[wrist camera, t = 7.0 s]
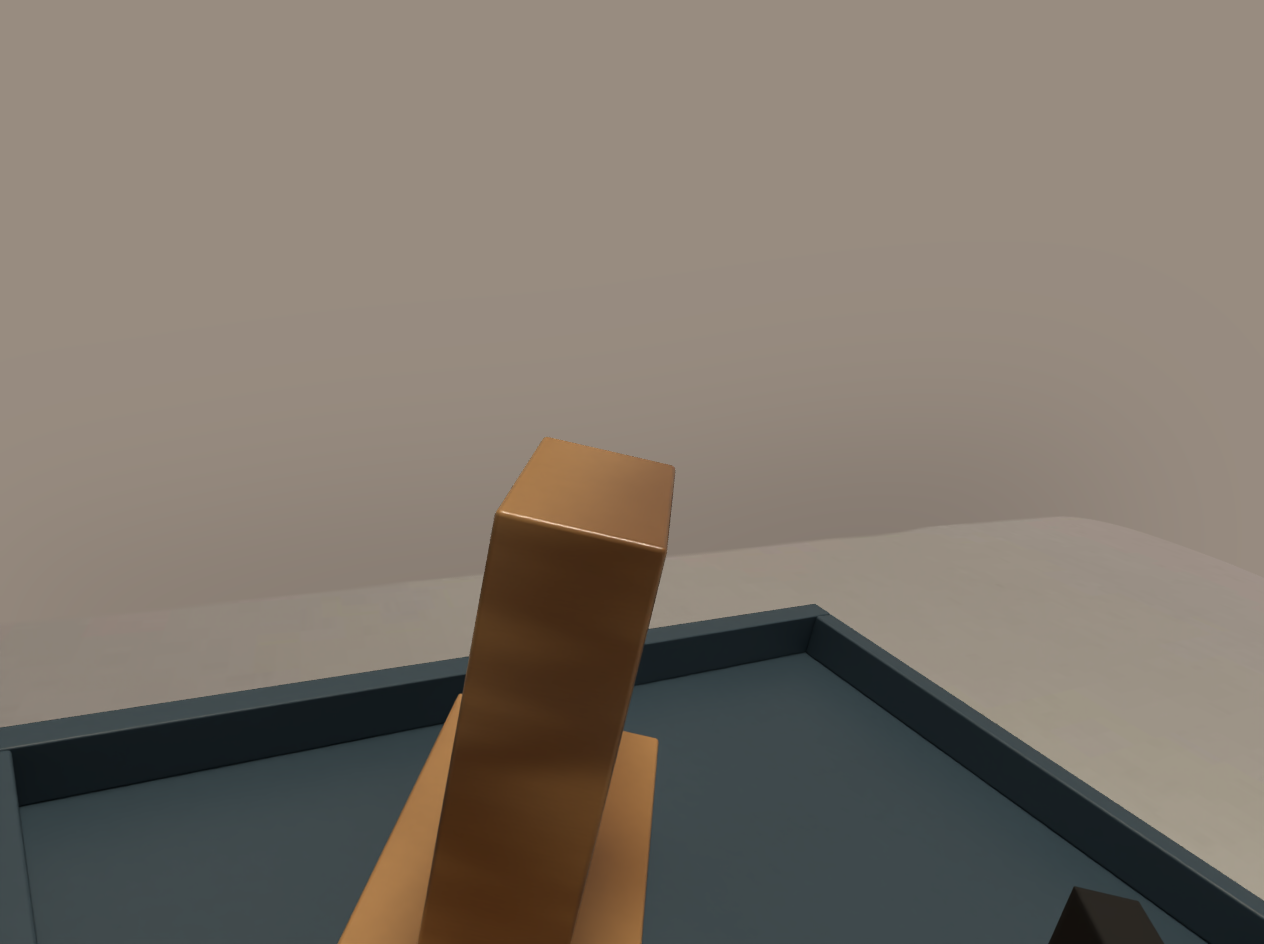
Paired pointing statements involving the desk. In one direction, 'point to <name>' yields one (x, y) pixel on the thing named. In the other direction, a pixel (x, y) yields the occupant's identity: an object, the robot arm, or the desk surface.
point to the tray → (681, 823)
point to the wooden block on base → (540, 727)
